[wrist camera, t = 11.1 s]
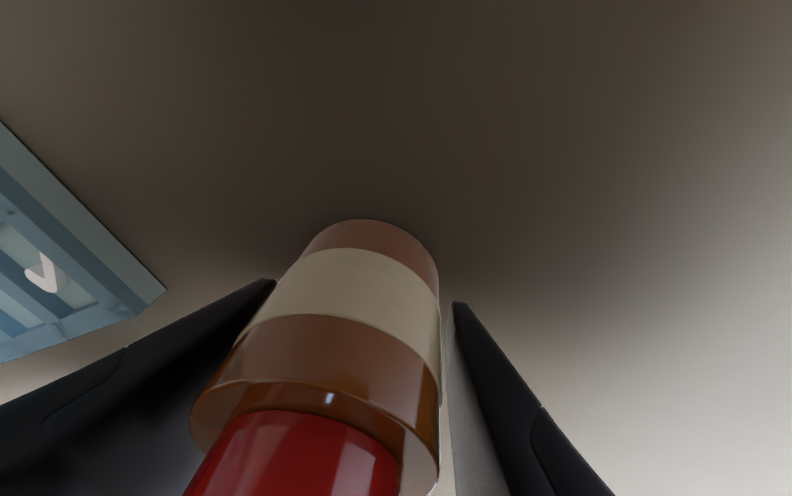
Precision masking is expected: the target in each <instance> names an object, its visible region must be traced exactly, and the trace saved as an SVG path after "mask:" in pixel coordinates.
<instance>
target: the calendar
mask: <svg viewBox="0 0 792 496" xmlns="http://www.w3.org/2000/svg"><path fill="white" fill-rule="evenodd" d="M166 291H167V290H166V289H165V288H164V287H163V286H162V285H161V284H160V283H159V282H158V281H157V280H156V279H155V278H154V276H153V275H152V274H151V273H150V272H149V271H148V270H147V269H146V268H145V267H144V266H143V265H142V264H141V263H140V262H139V261H138V260H137V259H136V258H135V257H134V256H133V255H132V254H131V253H130V252H129V251H128V250H127V249H126V248H125V247H124V246H123V245H122V244H121V243H120V242H119V241H118V240H117V239H116V238H115V237H114V236H113V235H112V234H111V233H110V232H109V231H108V230H107V229H106V228H105V227H104V226H103V225H102V224H101V223H100V222H99V221H98V220H97V219H96V218H95V217H94V216H93V215H92V214H91V213H90V212H89V211H88V210H87V209H86V208H85V207H84V206H83V205H82V204H81V203H80V202H79V201H78V200H77V199H76V198H75V197H74V196H73V195H72V194H71V193H70V192H69V191H68V190H67V189H66V188H65V187H64V186H63V185H62V184H61V183H60V182H59V181H58V180H57V179H56V178H55V177H54V176H53V174H52V173H51V172H50V171H49V170H48V169H47V168H46V167H45V166H44V165H43V164H42V163H41V162H40V161H39V160H38V159H37V158H36V157H35V156H34V155H33V154H32V153H31V152H30V151H29V150H28V149H27V148H26V147H25V146H24V145H23V144H22V143H21V142H20V141H19V140H18V139H17V138H16V137H15V136H14V135H13V134H12V133H11V132H10V131H9V130H8V129H7V128H6V127H5V126H4V125H3V124H2V123H1V122H0V364H3V363H6V362H8V361H11V360H14V359H17V358H20V357H23V356H26V355H29V354H31V353H34V352H36V351H39V350H42V349H45V348H47V347H50V346H53V345H56V344H59V343H61V342H64V341H68V340H71V339H73V338H76V337H79V336H81V335H84V334H86V333H89V332H92V331H95V330H98V329H100V328H103V327H106V326H109V325H112V324H114V323H117V322H120V321H124V320H126V319H129V318H132V317H135V316H137V315H138V314H139V313H141V312H142V311H143V310H144V309H145V308H147V307H148V306H149V305H150V304H151V303H153V302H154V301H155V300H156V299H157V298H158V297H159V296H161V295H162V294H163V293H164V292H166Z"/></svg>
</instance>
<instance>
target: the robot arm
mask: <svg viewBox="0 0 792 496" xmlns="http://www.w3.org/2000/svg"><path fill="white" fill-rule="evenodd" d="M276 285H277V281H276V280H274V279H268V278H261V279H259V280H257V281H255V282H253V283H251V284H249V285H247V286H245V287H243V288H241V289H239V290H237V291H235V292H233V293H231V294H229V295H227V296H225V297H223V298H221V299H219V300H217V301H215V302H213V303H211V304H209V305H207V306H205V307H203V308H201V309H199V310H197V311H195V312H193V313H191V314H189V315H187V316H185V317H183V318H181V319H179V320H177V321H175V322H173V323H171V324H170V325H168V326H166V327H164V328H162V329H160V330H158V331H156V332H154V333H152V334H150V335H148V336H146V337H144V338H142V339H140V340H138V341H136V342H134V343H132V344H130V345H128V347H127V348H126V347H124V348H122V349H120V350H118V351H116V352H114V353H112V354H110V355H108V356H106V357H104V358H102V359H100V360H98V361H96V362H94V363H92V364H90V365H88V366H86V367H84V368H82V369H80V370H77V371H75V372H73V373H71V374H69V375H67V376H65V377H62V378H60V379H58V380H56V381H54V382H51V383H49V384H47V385H45V386H43V387H40V388H38V389H36V390H34V391H32V392H29V393H27V394H25V395H23V396H20V397H18V398H16V399H14V400H11V401H9V402H7V403H5V404H2V405H0V496H182V494H183V493H184V491H185V489H186V488H187V486H188V484H189V483H190V481H191V479H192V478H193V476H194V474H195V473H196V471H197V469H198V468H199V466H200V464H201V463H202V461H203V459H204V458H205V456H206V455H205V454H204V453H203V452H202V451H201V450H200V449H199V447H198V446H197V444H196V443H195V441H194V439H193V437H192V435H191V433H190V429H189V425H188V416H189V412H190V409H191V406H192V404H193V402H194V401H195V399H196V398H197V396H198V395H199V394H200V392H201V391H202V390H203V388H204V387H205V385H206V384H207V383H208V381H209V380H210V379H211V377H212V376H213V375H214V373H215V372H216V370H217V369H218V368H219V366H220V365H221V364H222V362H223V361H224V360H225V358H226V357H227V355H228V354H229V353H230V351H231V350H232V348H233V345H234V343H235V340H236V339H237V338H238V336H239V335H240V333H241V332H242V331H243V329H244V328H245V326H246V325H247V324H248V322H249V321H250V320H251V318H252V317H253V316H254V314H255V313H256V312H257V310H258V309H259V308H260V306H261V305H262V304H263V302H264V301H265V300H266V298H267V297H268V296H269V294H270V293H271V292H272V290H273V289H274V288H275V286H276ZM445 380H446V393H447V404H448V414H449V425H450V435H451V445H452V456H453V466H454V477H455V487H456V496H615V494H614V493H613V492H612V491H611V490H610V489H609V488H608V486H607V485H606V484H605V483H604V482H603V481H602V479H601V478H600V477H599V476H598V475H597V474H596V472H595V471H594V470H593V469H592V468H591V467H590V465H589V464H588V463H587V462H586V461H585V459H584V458H583V457H582V456H581V455H580V453H579V452H578V451H577V450H576V449H575V447H574V446H573V445H572V444H571V442H570V441H569V440H568V438H567V437H566V436H565V435H564V433H563V432H562V431H561V429H560V428H559V427H558V426H557V424H556V423H555V422H554V420H553V419H552V418H551V416H550V415H549V414H548V412H547V411H546V409H545V408H544V407H541V406H542V405H541V403H540V402H539V400H538V399H537V397H536V396H535V395H534V393H533V392H532V391H531V389H530V388H529V387H528V385H527V384H526V383H525V381H524V380H523V379H522V377H521V376H520V374H519V373H518V372H517V370H516V369H515V368H514V366H513V365H512V364H511V362H510V361H509V360H508V358H507V357H506V356H505V354H504V353H503V351H502V350H501V349H500V347H499V346H498V345H497V343H496V342H495V341H494V339H493V338H492V337H491V335H490V334H489V332H488V331H487V330H486V328H485V327H484V326H483V324H482V323H481V322H480V320H479V319H478V318H477V316H476V315H475V314H474V312H473V311H472V309H471V308H470V307H469V305H468V304H467V303H465V302H458V301H453V302H452V303H451V306H450V311H449V316H448V321H447V329H446V367H445Z"/></svg>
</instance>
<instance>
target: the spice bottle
mask: <svg viewBox="0 0 792 496" xmlns="http://www.w3.org/2000/svg"><path fill="white" fill-rule="evenodd" d="M441 403H442V347H441V315H440V310H439V278H438V272H437V268H436V265H435V263H434V261H433V259H432V257H431V255H430V254H429V252H428V251H427V250H426V248H425V247H424V246H423V245H422V244H421V243H420V242H419V241H418V240H417V239H416V238H415V237H413V236H412V235H411V234H409V233H408V232H406V231H404V230H403V229H401V228H399V227H397V226H394V225H392V224H389V223H386V222H382V221H377V220H371V219H354V220H347V221H342V222H339V223H336V224H333V225H331V226H329V227H327V228H325V229H324V230H323V231H321V232H320V233H318V234H317V235H316V236H315V237H314V238H313V239H312V241H311V242H310V244H309V245H308V246H307V248H306V249H305V250H304V252H303V253H302V254H301V256H300V257H299V259H298V260H297V261H296V263H295V264H293V265H292V266H291V267H290V268H289V269H288V270H287V271H286V273H285V274H284V275H283V277H282V278H281V280H280V281H279V282H278V284H277V285H276V286H275V288H274V289H273V290H272V292H271V293H270V294H269V296H268V297H267V298H266V300H265V301H264V302H263V304H262V305H261V306H260V308H259V309H258V310H257V312H256V313H255V314H254V316H253V317H252V318H251V320H250V321H249V322H248V324H247V325H246V326H245V328H244V329H243V331H242V332H241V333H240V335H239V336H238V338H237V339H236V340H235V343H234V345H233V348H232V350H231V351H230V353H229V354H228V355H227V357H226V358H225V360H224V361H223V362H222V364H221V365H220V366H219V368H218V369H217V370H216V372H215V373H214V375H213V376H212V377H211V379H210V380H209V381H208V383H207V384H206V385H205V387H204V388H203V390H202V391H201V392H200V394H199V395H198V396H197V398H196V399H195V401H194V402H193V404H192V406H191V409H190V412H189V416H188V425H189V429H190V433H191V435H192V437H193V439H194V441H195V443H196V444H197V446H198V447H199V449H200V450H201V451H202V452H203V453H204V454H205V455H206V456H205V458H204V459H203V461H202V463H201V464H200V466H199V468H198V469H197V471H196V473H195V474H194V476H193V478H192V479H191V481H190V483H189V484H188V486H187V488H186V489H185V491H184V493H183V494H182V496H428V495H429V494H430V493H431V492H432V491H433V489H434V488H435V486H436V484H437V482H438V479H439V475H440V408H441Z"/></svg>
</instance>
